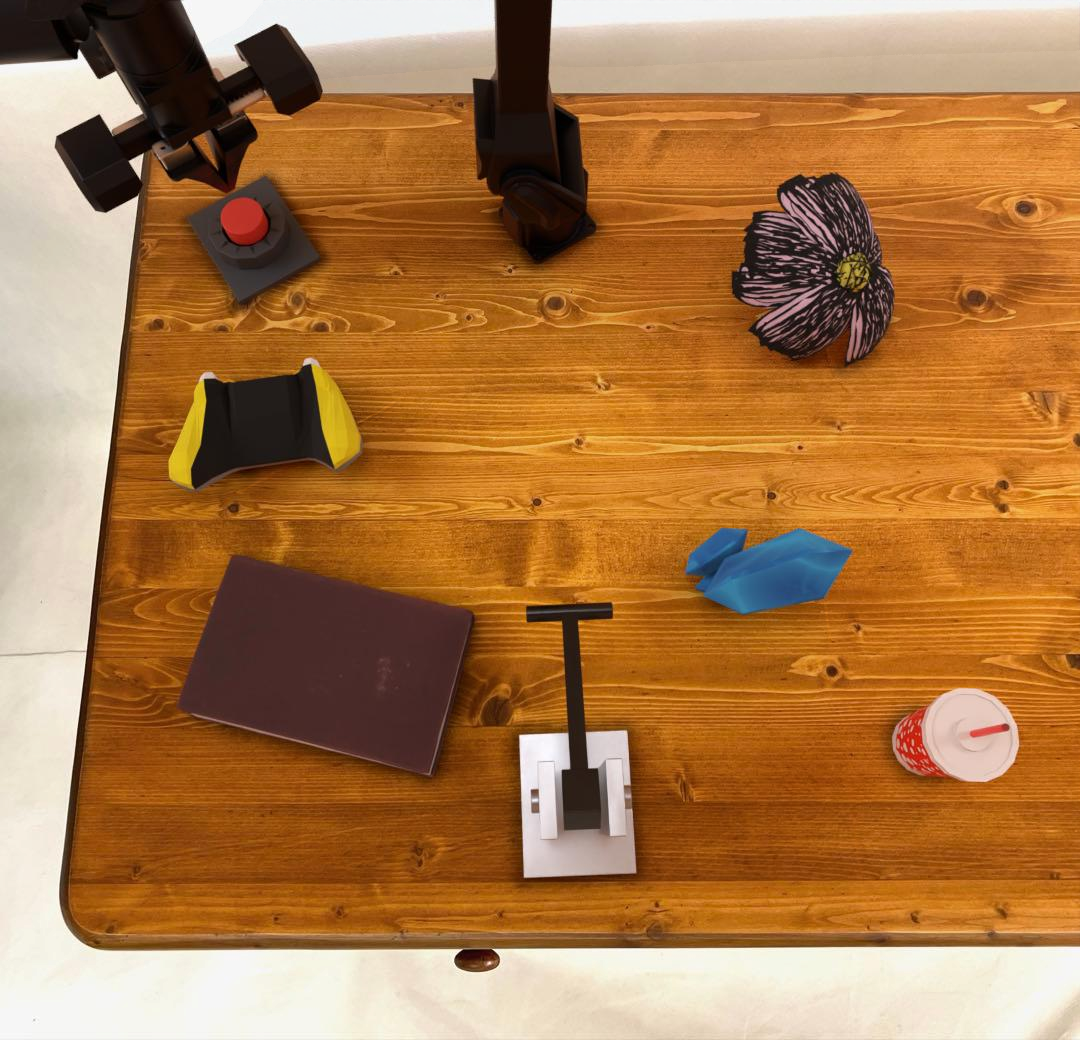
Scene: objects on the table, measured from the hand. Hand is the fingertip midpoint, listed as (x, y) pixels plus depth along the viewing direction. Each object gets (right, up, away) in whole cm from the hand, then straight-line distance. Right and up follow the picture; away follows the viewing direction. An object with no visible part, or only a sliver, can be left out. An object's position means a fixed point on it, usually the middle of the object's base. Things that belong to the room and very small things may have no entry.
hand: (227, 187), depth 79 cm
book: (+9, -38, -4) cm, 39 cm away
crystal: (+42, -32, -2) cm, 53 cm away
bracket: (+28, -48, -7) cm, 56 cm away
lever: (+27, -40, -15) cm, 50 cm away
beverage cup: (+54, -44, -6) cm, 69 cm away
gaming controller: (+3, -20, +2) cm, 21 cm away
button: (0, -2, +5) cm, 6 cm away
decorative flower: (+48, -9, +5) cm, 49 cm away
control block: (0, -2, +7) cm, 8 cm away
